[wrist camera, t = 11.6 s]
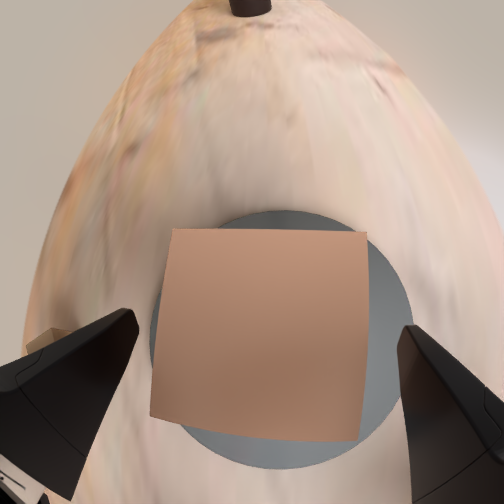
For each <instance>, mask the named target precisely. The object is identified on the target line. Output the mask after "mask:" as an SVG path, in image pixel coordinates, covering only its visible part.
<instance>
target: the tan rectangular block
mask: <svg viewBox="0 0 504 504" xmlns="http://www.w3.org/2000/svg"><path fill="white" fill-rule="evenodd" d="M368 331H369V268H368V246H367V232H352V231H321V230H280V229H173V230H172V235H171V241H170V246H169V251H168V257H167V263H166V269H165V275H164V281H163V287H162V294H161V301H160V308H159V316H158V324H157V332H156V341H155V350H154V361H153V372H152V385H151V401H150V416H151V417H154V418H158V419H162V420H165V421H169V422H173V423H177V424H181V425H185V426H190V427H194V428H199V429H204V430H209V431H214V432H220V433H225V434H232V435H238V436H246V437H254V438H263V439H273V440H287V441H309V442H341V441H358V436H359V429H360V422H361V415H362V408H363V399H364V390H365V380H366V368H367V353H368Z"/></svg>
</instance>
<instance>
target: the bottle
mask: <svg viewBox="0 0 504 504" xmlns="http://www.w3.org/2000/svg"><path fill="white" fill-rule="evenodd" d="M229 2H230V6H231V10H232V13H233V14H234V15H236V16H239V17H251V16H257V15H262V14H265V13H267V12H269V11H270V10H271V7H272V6H271V0H229Z"/></svg>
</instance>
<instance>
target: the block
mask: <svg viewBox="0 0 504 504" xmlns="http://www.w3.org/2000/svg"><path fill="white" fill-rule="evenodd" d="M71 333H73V332H70V331H65V330H59V329H54V328H50V329H49V330H47V331H46V332H44V333H43V334H42V335H40V336H39V337H37V338H36V339H34V340H33V341H31V342H30V343H29V344H27V345H26V348H27V352H28V355H29V354H31V353H33V352H35V351H37V350H39V349H41V348H43V347H44V348H45V346H47V345H49V344H51V343H53V342H55V341H57V340H59V339H61V338H63V337H65V336H67V335H69V334H71Z"/></svg>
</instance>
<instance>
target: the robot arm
mask: <svg viewBox="0 0 504 504" xmlns="http://www.w3.org/2000/svg"><path fill="white" fill-rule="evenodd" d="M138 335H139V325H138V322H137V320H136V317H135V314H134V312H133V310H131V309H127V308H121V309H119V310H117V311H115V312H113V313H111V314H109V315H107V316H105V317H103V318H101V319H99V320H97V321H95V322H93V323H91V324H89V325H87V326H85V327H83V328H81V329H79V330H77V331H75V332H73V333H71V334H69V335H67V336H65V337H63V338H61V339H59V340H57V341H55V342H53V343H51V344H49V345H47V346H45V348H44V347H43V348H41V349H39V350H37V351H35V352H33V353H31V354H29V355H27V356H24V357H22V358H20V359H18V360H15V361H13V362H11V363H8V364H6V365H3V366H1V367H0V504H50V503H49V500H48V496H47V495H46V494H45V493H44V490H45V488H46V487H47V488H48V489H50V490H51V491H53V492H55V493H56V494H58V495H60V496H61V497H63V498H65V499H67V500H69V501H71V499H72V497H73V494H74V492H75V489H76V486H77V483H78V480H79V478H80V475H81V472H82V470H83V467H84V464H85V462H86V459H87V456H88V454H89V451H90V449H91V446H92V444H93V441H94V439H95V437H96V434H97V432H98V429H99V427H100V425H101V422H102V420H103V418H104V415H105V413H106V411H107V409H108V406H109V404H110V402H111V400H112V397H113V395H114V393H115V391H116V389H117V387H118V384H119V382H120V380H121V378H122V376H123V374H124V372H125V369H126V367H127V365H128V362H129V359H130V356H131V354H132V351H133V348H134V345H135V343H136V340H137V337H138ZM397 359H398V369H399V382H400V393H401V399H402V405H403V411H404V418H405V425H406V432H407V440H408V449H409V459H410V472H411V489H412V503H413V504H504V402H503V401H502V400H501V399H499V398H498V397H497V396H496V395H495V394H494V393H493V392H492V391H491V390H490V389H489V388H488V387H485V385H484V384H483V383H482V382H481V381H480V380H479V379H478V378H477V377H476V376H475V375H473V374H472V373H471V372H470V371H469V370H468V369H467V368H466V367H465V366H464V365H462V364H461V363H460V362H459V361H458V360H457V359H456V358H455V357H453V356H452V355H451V354H450V353H449V352H448V351H447V350H446V349H444V348H443V347H442V346H441V345H440V344H439V343H437V342H436V341H435V340H434V339H433V338H432V337H430V336H429V335H428V334H427V333H426V332H425V331H423V330H422V329H421V328H420V327H419V326H417V325H405V326H404V327H403V329H402V332H401V335H400V338H399V341H398V344H397Z"/></svg>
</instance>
